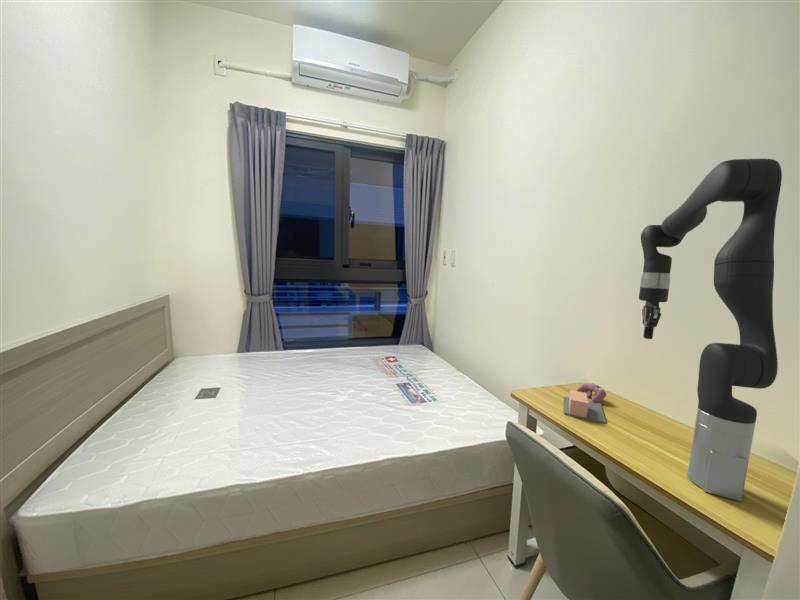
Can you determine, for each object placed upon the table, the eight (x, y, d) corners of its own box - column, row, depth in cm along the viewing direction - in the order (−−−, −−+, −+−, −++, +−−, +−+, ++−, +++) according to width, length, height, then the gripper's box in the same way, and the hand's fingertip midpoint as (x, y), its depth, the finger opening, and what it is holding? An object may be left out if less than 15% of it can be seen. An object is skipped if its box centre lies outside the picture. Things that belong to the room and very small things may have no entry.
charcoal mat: (605, 423, 102) (606, 422, 102) (563, 414, 107) (564, 412, 107) (600, 405, 116) (600, 403, 116) (563, 398, 122) (563, 396, 122)
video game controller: (601, 408, 118) (610, 391, 118) (592, 403, 117) (602, 386, 117) (581, 397, 127) (590, 382, 127) (573, 392, 126) (581, 377, 126)
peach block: (584, 406, 113) (586, 417, 104) (568, 403, 115) (569, 414, 107) (586, 392, 113) (588, 403, 104) (570, 389, 115) (570, 399, 106)
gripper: (675, 288, 98) (667, 344, 99) (662, 286, 109) (656, 336, 111) (645, 286, 101) (638, 340, 103) (636, 285, 113) (630, 333, 114)
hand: (647, 338), depth 107 cm, fingers closed
